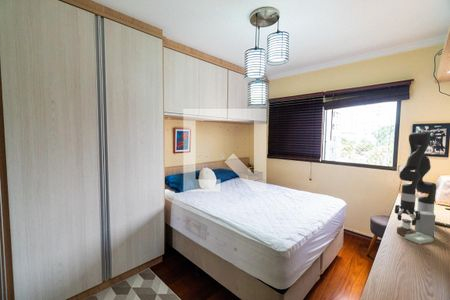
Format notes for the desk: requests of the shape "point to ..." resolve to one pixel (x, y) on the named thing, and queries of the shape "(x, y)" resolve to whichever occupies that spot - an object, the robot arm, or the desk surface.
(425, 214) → the skincare box
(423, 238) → the tray
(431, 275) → the desk surface
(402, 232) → the block
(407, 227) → the pin
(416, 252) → the desk surface
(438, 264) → the desk surface
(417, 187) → the robot arm
